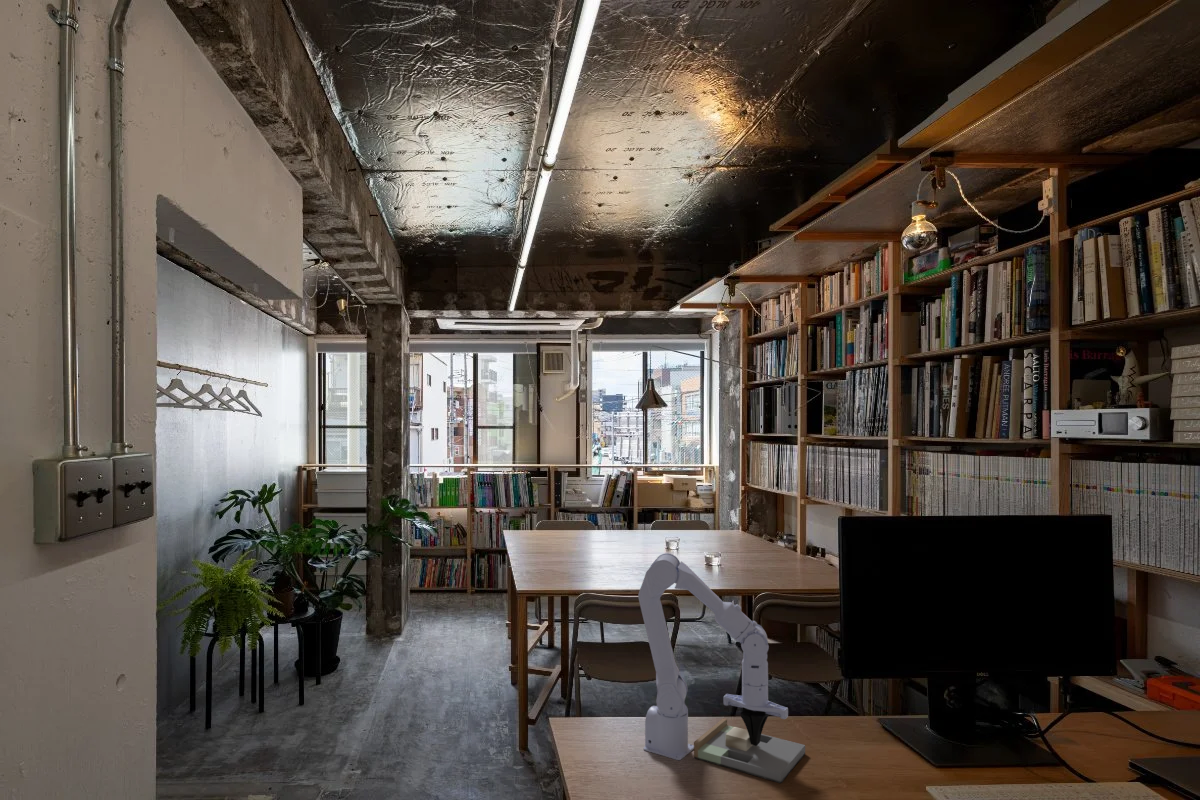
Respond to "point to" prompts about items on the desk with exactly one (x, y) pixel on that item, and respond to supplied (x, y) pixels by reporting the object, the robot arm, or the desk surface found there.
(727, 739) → the cream block
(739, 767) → the board
